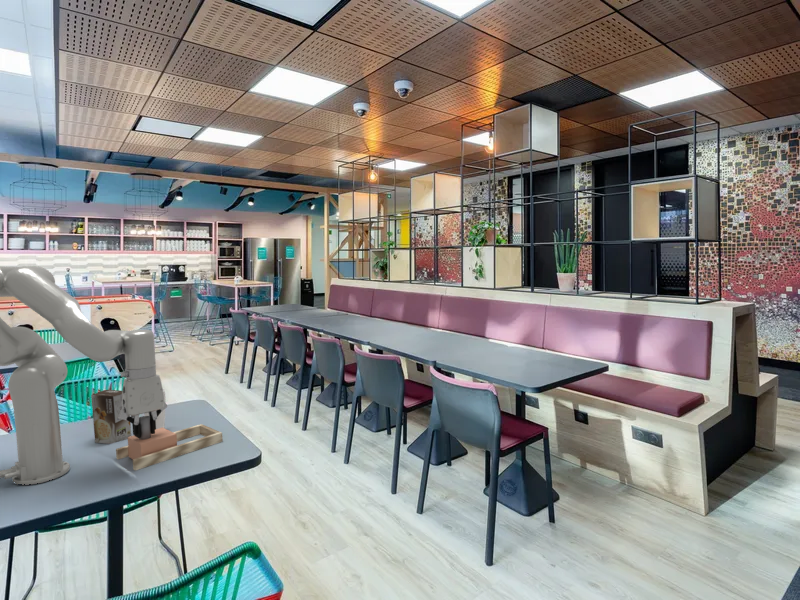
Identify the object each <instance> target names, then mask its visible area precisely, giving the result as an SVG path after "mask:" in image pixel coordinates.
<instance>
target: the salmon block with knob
mask: <svg viewBox="0 0 800 600" xmlns="http://www.w3.org/2000/svg"><path fill="white" fill-rule="evenodd" d="M139 424H141V434H142V437H141V438H137V437H136V436H135V435H131V436H130V437H128V439H127V446H128V451H129V456H128V458H130V459H131V460H133V459H136V458H139V457H142V456H145V455H149V454H152V453H155V452H158V451H161V450H164V449H168V448H171V447H174V446H177V445H178V441H177V435H176V434H175V433H173V432H174V431H171V430H168V429H166V427H165V428H159V429H156V430H155V434H151V429H150V416H145V415H143V416H139Z"/></svg>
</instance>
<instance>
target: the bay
mask: <svg viewBox="0 0 800 600" xmlns="http://www.w3.org/2000/svg"><path fill="white" fill-rule="evenodd" d="M172 432H173V433H175V434H176V435H177V442H179V441H183V440H186V439H190V438H193V437H195V436H199V435H201V436H202V437H200V438H197V439H196V438H195V439H194V440H190V441H187V442H183V443H181V444H177V446H174V447H171V448H168V449H164V450H161V451H158V452H155V453H152V454H149V455H145V456H142V457H139V458H136V459H132V470H133V471H138V470H141V469H144V468H147V467H150V466H155V465H157V464H159V463H163V462H165V461H168V460H171V459H174V458H178V457H180V456H184V455H186V454H190V453H192V452H195V451H199V450H202V449H204V448H207V447H210V446H213V445H216V444H220V443H222V442H223V432H221V431H219V430H218V429H214V428H212V427H210V426H207V425H204V424H202V423H200V424H197V425H194V426H190V427H187V428H183V429H179V430H176V431H172ZM127 457H128V458H129V451H128V445H124V446H121V447H118V448H116V449H115V459H117V460H121V459H124V458H127Z"/></svg>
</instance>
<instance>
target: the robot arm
mask: <svg viewBox="0 0 800 600" xmlns="http://www.w3.org/2000/svg"><path fill="white" fill-rule="evenodd" d="M0 297H3V298H4V297H8V298H9V297H10V298H11V297H13V298H15V299H17V300H18V301H19V302H20V303H22V304H23V305H25V306H26V307H28V308H29V309H30V310H32V311H33V312H35V314H37V315H39V316H41V317H42V318H43V319H44V320H46V321H47V322H48V323H49V324H51V326H52V327H53V328H54V330H55V331H56V332H57V333H58V334H59V336H61V338H62V339H63V340H64V341H65V342H66V343H68V344H69V345H70V346H71V347H72V348H74V350H75V349H76V350H77V351H78V352H80V353H81V354H83V355H84V356H86V357H87V358H89V359H90V360H93V361H95V362H99V363H104V362H108V361H111V360H113V359H114V358H116V357H118V356H120V355H124V360H125V361H124V362H125V368H124V371H123V372H122V371H121V373H120V377H121V378H124V379H123V380H124V381H123V385H122V390H121V391H122V409H121V411H120V413H119V415H118V418H120V419H123V420H127V421H129V422H130V424H132V425H131V428H132V436H134V435H135V436H136V437H137V438H141V437H142V434H141V424H139V417H140V415H143V414H144V413H148V414H149V416H150V429H151V434H155V430H156V419H157V417H158V416H159V414H160V413H161V411H163V410H164V409H165V410H166V409H167V408H168V405H167V404H166V403H165V402H164V394H163V389H164V388H163V385H162V380H161V377H160V375H159V374H157V365H156V350H155V349H156V348H155V333H154V332H153V330H150V329H134V330H121V329H108V330H105V331H102V330H101V329H100V328H98V327H97V326H96V325H94V324H93V323H92V322H90V321H89V319H88V318H86V316H85V315H84V314H83V311H82V310H81V306H80V303H79V301H78V299H76V298H75V297H73V296H72V295H71V294H69V293H68V292H66V291H65V290H64V289H63V288H62V287H60V286H59V285H58V284H56V279H55V277H54V275H53V273H52V272H51V271H49V270H48V269H46V268H45V267H41V266H34V265H33V266H31V265H30V266H29V265H28V266H25V265H24V266H0ZM11 365H16V366H17V368H15V370H14V371H12V373H11V374H10V376H9V379H8V380H9V381H8V388H7V389H8V392H9V396H10V399H11V400H10V401H11V402H12V407H13V417H14V424H15V438H16V446H17V447H16V448H17V449H16V450H17V458H18V460H17V461H16V462H15V463H14V465H13V466H11V467H10V468H7V469H3V470H0V479H4V480H8V479H12V480H13V481H12V480H11V481H12V483H13V482H15V483H16V484H15V483H14V484H15V485H18V484H22V485H21V486H28V485H29V484H31V485H37V483H38V484H42V483H46V482H49V480H50V481H52V479H53V480H55V479H58V478H59V477H61V476H62V477H63V476H64V475H65V474H66V473H68V472H69V471H70V470H71V465H70V462H68V461H64V460H63V459H64V458H63V447H62V435H61V434H62V433H61V420H60V419H61V418H60V411H59V409H60V408H59V403H58V400H57V399H58V398H57V396H56V393H55V388H56V387H58V386H59V385H60V384H62V383H63V382H64V381H65V379H66V378H67V376H68V367H67V364H66V362H65V360H63V358H62V357H61V356H60V355H59V354H58V353H57V351H56V350H55V349H53V348H52V347H51V345H49V343H47V341H46V340H45V339H43V337H42V336H41V335H40V334H38V332H36V331H35V330H33V329H31V328H29V327H26V326H12V327H11V326H9V324H7V323H6V322H5V320H4V319H2V318H1V317H0V367H7V366H11ZM126 413H127V414H129V415H130V416H127V415H126ZM24 484H25V485H24ZM29 486H30V485H29Z"/></svg>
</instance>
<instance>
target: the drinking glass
mask: <svg viewBox="0 0 800 600" xmlns="http://www.w3.org/2000/svg"><path fill="white" fill-rule="evenodd" d="M163 394H164V402H165V403H166V402H167V401H166V391H165V389H164V388H163ZM143 414H144V416H149V414H148V413H143ZM165 421H166V409H164V410H163V411H161V413H160V414H159V416H158V417H157V419H156V429H159V428H165V429H166V427H165V425H166V424H165V423H166V422H165Z"/></svg>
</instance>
